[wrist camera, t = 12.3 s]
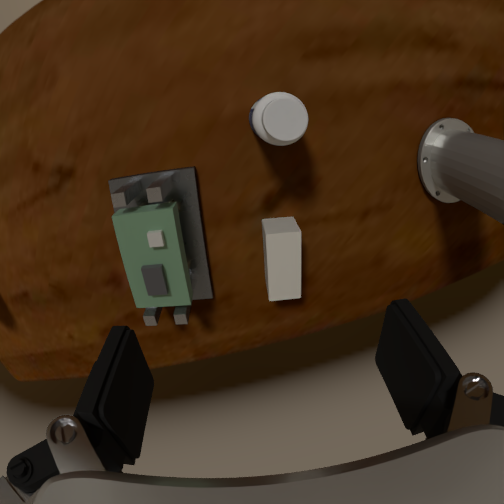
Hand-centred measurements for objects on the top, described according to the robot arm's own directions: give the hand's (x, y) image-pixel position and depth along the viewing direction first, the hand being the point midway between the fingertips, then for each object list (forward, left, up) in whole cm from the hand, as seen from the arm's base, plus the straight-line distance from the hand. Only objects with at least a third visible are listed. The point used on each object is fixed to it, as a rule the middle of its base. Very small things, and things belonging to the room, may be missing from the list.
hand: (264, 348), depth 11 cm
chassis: (+11, +7, -28) cm, 31 cm away
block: (-4, +10, -28) cm, 30 cm away
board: (+11, +7, -24) cm, 28 cm away
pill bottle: (-4, -7, -28) cm, 30 cm away
